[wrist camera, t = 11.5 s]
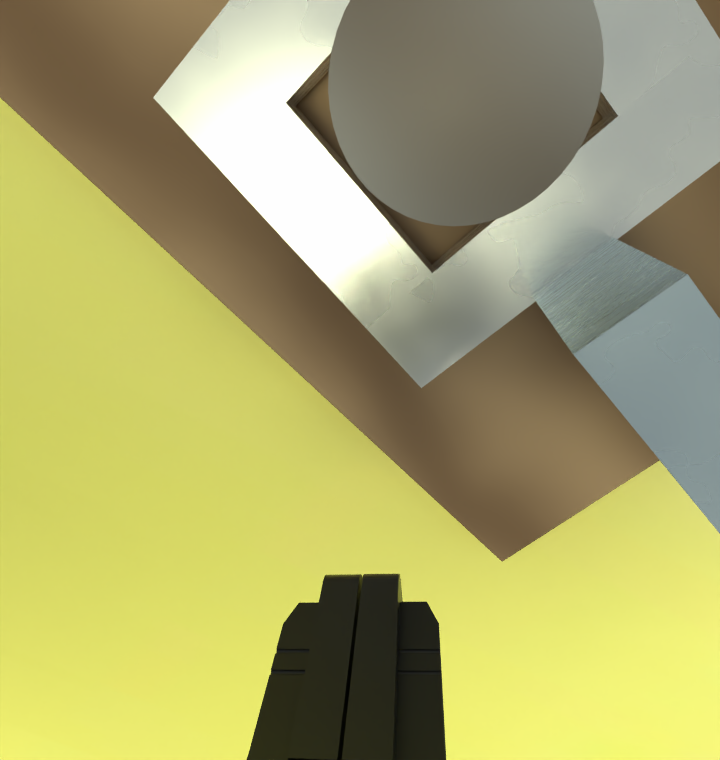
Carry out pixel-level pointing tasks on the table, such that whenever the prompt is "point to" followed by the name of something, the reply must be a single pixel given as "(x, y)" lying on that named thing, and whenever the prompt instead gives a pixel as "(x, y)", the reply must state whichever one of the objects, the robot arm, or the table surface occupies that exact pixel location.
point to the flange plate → (503, 235)
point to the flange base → (401, 201)
